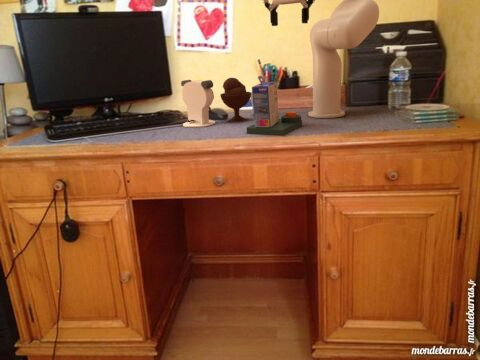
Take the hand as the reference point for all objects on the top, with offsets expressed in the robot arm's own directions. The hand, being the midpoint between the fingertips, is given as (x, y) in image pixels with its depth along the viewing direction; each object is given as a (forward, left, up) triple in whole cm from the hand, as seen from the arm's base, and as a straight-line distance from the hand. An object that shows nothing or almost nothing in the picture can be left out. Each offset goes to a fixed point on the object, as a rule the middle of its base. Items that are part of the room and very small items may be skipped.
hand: (289, 24), depth 116 cm
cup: (-15, -17, -31) cm, 38 cm away
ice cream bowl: (-3, -22, -31) cm, 38 cm away
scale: (+8, -2, -30) cm, 31 cm away
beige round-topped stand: (+6, -32, -31) cm, 45 cm away
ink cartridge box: (+10, -4, -29) cm, 31 cm away
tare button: (+4, +2, -27) cm, 27 cm away
